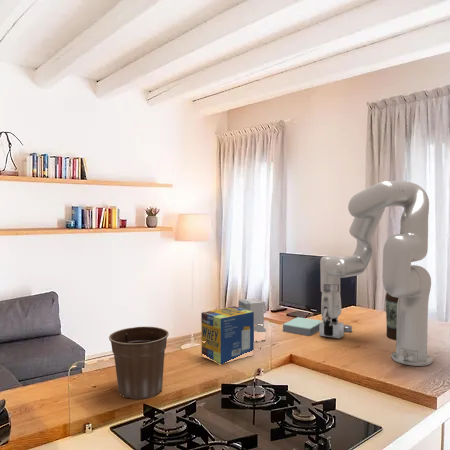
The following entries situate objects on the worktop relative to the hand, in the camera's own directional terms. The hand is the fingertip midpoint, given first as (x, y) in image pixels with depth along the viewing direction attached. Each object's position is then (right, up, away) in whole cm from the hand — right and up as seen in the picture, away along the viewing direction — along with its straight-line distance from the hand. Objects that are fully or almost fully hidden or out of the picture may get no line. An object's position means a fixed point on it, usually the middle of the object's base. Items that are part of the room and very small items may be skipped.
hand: (331, 333), depth 179 cm
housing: (0, -1, 0) cm, 1 cm away
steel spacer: (+8, -1, +8) cm, 12 cm away
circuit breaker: (-34, -2, -4) cm, 34 cm away
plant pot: (-66, -4, -52) cm, 84 cm away
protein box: (-41, -3, -23) cm, 47 cm away
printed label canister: (+26, -1, -1) cm, 27 cm away
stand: (-9, -1, +10) cm, 14 cm away
